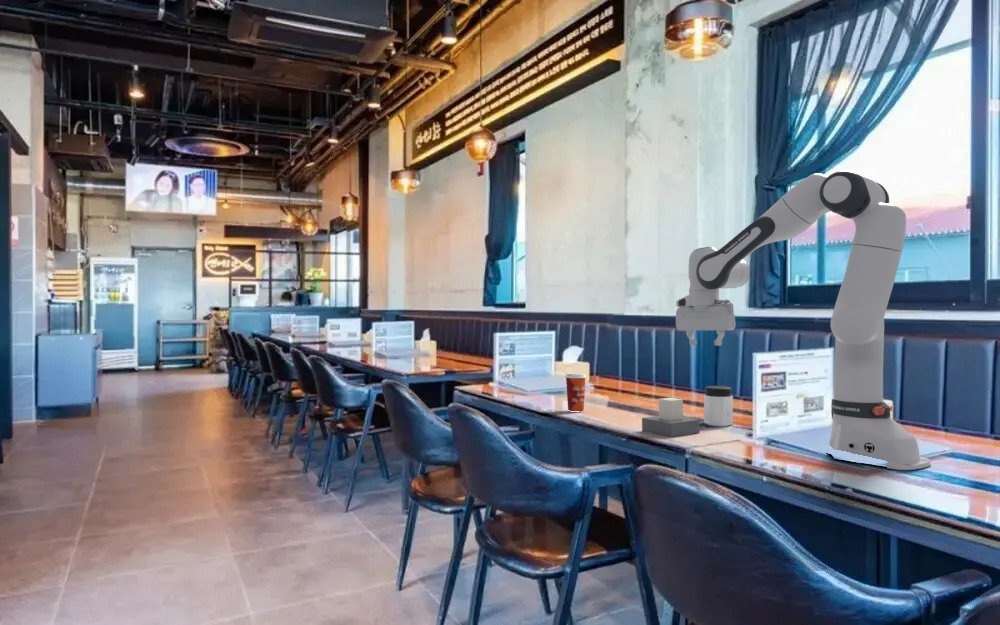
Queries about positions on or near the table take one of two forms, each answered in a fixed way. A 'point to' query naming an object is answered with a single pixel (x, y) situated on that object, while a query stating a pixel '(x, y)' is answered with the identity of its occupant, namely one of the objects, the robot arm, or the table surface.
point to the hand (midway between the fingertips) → (705, 345)
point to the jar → (718, 406)
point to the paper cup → (575, 391)
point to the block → (670, 409)
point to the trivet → (671, 426)
